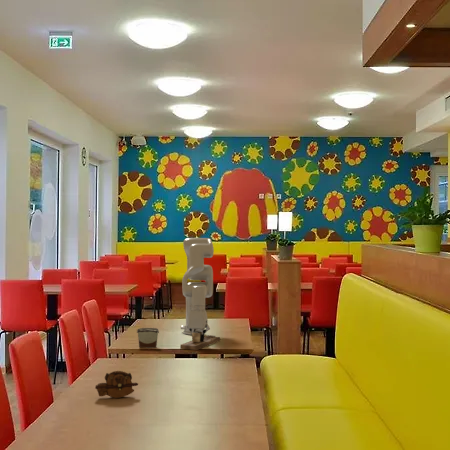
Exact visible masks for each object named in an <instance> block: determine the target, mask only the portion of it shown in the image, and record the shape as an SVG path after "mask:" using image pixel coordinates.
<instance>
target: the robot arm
mask: <svg viewBox="0 0 450 450" xmlns="http://www.w3.org/2000/svg"><path fill="white" fill-rule="evenodd" d="M182 246H183V251H184V253H185V255H186V271H185V273H184V274H183V277H182V279H181V280H182V281H181V284H182V285H181V287H182V296H184V298H185V325H180V330H183V334H184V335H190V336H192V333H193V332H195V331H197V330H201V334H200V341H201V342H202V341H204V336H205V334H206V333H207V332H208V331H209V330H211V328H210V326H209V321H208V312H207V310H206V298H211V297H212V296H213V293H214V270H213V267H212V265H210V264H205V263H204V262H205V259H207V258H208V259H210V258H213V256H214V251H215V250H214V244H213V241H212V239H211V238H208V237H189V238H188V237H187V238H185V239H184V240H183V244H182ZM188 280H190V282H188ZM201 281H203V282H201Z"/></svg>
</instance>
